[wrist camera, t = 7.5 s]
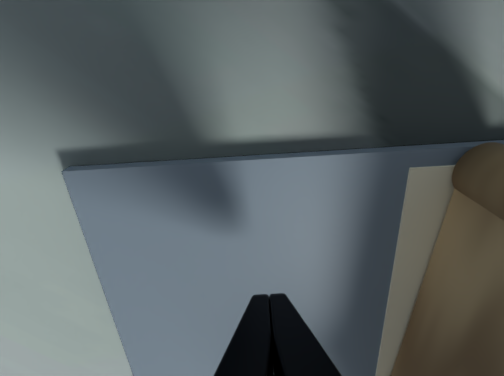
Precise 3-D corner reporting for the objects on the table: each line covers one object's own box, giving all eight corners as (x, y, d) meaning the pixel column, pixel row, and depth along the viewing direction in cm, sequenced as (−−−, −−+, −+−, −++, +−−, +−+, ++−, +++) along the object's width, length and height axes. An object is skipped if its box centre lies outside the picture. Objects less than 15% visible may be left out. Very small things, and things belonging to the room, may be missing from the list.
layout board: (795, 122, 8) (828, 126, 7) (574, 442, 14) (585, 455, 14) (69, 166, 9) (59, 173, 8) (167, 455, 15) (164, 467, 14)
